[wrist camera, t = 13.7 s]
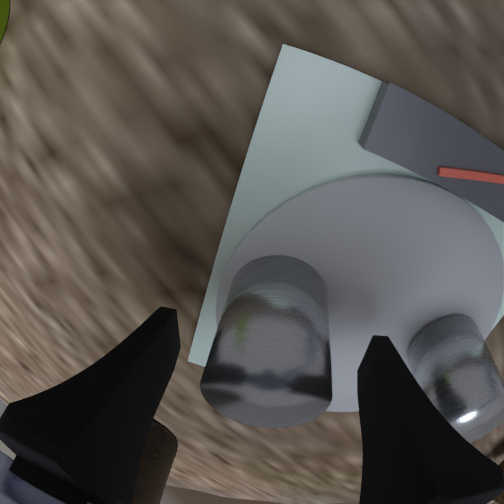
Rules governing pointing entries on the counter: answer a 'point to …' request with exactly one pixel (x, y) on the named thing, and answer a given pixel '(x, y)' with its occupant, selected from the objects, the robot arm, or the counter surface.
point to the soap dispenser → (3, 16)
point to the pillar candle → (154, 465)
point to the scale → (365, 211)
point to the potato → (503, 498)
